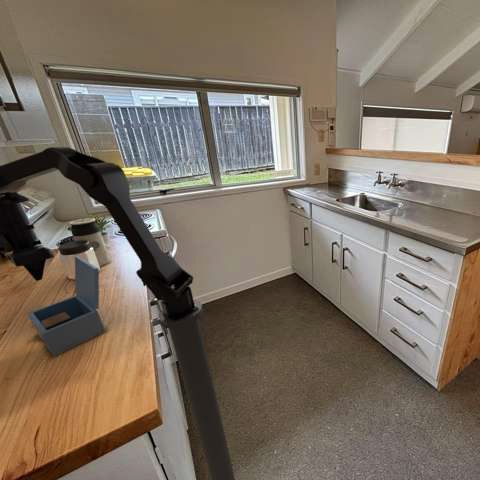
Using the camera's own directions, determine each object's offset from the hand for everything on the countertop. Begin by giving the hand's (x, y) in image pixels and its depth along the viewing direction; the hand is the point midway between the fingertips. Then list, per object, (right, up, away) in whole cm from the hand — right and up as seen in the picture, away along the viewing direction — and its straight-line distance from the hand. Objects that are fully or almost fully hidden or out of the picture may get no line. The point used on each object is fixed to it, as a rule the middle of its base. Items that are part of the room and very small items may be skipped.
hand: (38, 279), depth 66 cm
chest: (+10, -13, -2) cm, 17 cm away
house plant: (-28, +6, +52) cm, 59 cm away
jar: (-13, -3, +28) cm, 31 cm away
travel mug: (-16, +1, +36) cm, 40 cm away
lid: (+13, 0, -1) cm, 13 cm away
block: (+9, -13, -3) cm, 16 cm away
